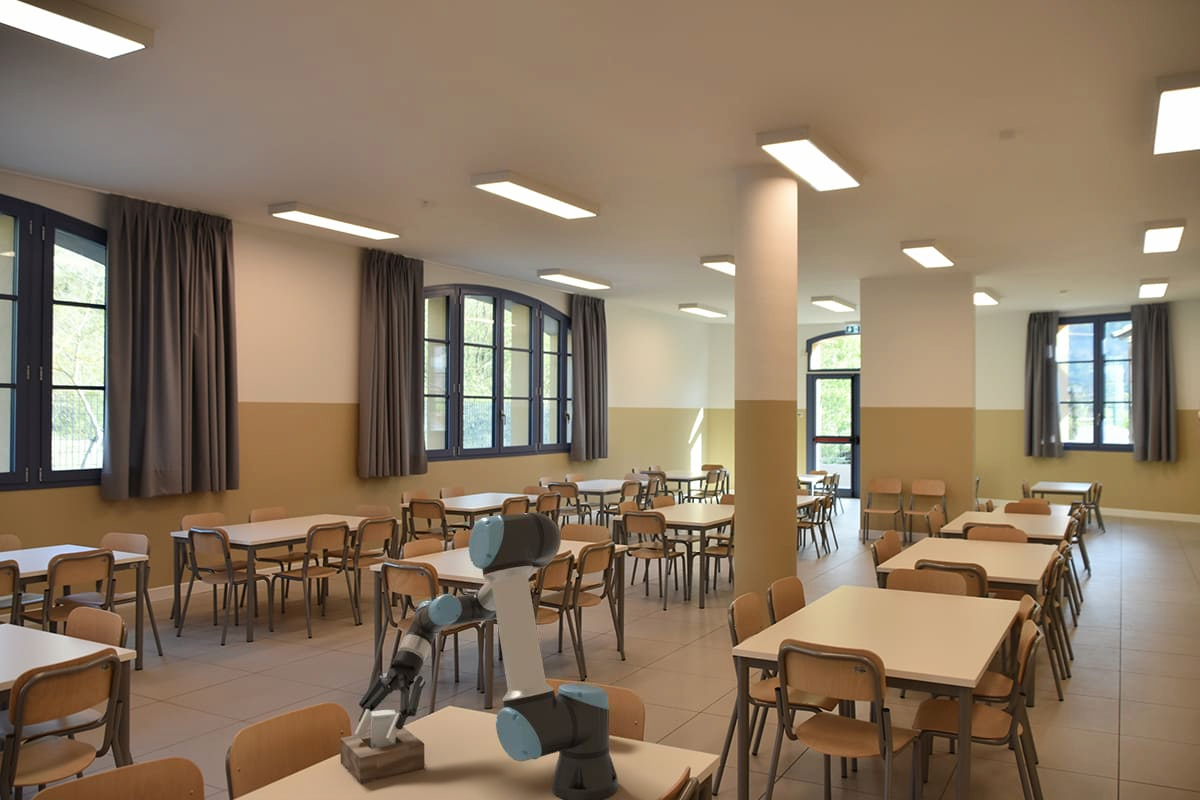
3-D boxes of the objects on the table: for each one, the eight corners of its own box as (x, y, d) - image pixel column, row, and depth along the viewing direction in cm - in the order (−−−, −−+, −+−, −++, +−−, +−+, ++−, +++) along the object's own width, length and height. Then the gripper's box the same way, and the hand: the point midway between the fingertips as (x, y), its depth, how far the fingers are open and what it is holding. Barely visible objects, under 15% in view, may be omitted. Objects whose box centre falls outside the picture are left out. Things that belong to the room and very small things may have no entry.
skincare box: (370, 765, 209) (370, 716, 210) (370, 759, 213) (370, 710, 214) (396, 762, 211) (396, 713, 211) (395, 756, 215) (395, 708, 215)
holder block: (424, 768, 210) (424, 743, 210) (360, 783, 201) (360, 757, 201) (401, 748, 223) (401, 725, 223) (340, 762, 214) (340, 738, 215)
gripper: (451, 667, 223) (416, 750, 208) (383, 660, 231) (345, 740, 216) (439, 652, 218) (403, 736, 203) (371, 645, 226) (331, 726, 211)
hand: (373, 738), depth 209 cm, fingers open, 8 cm apart
